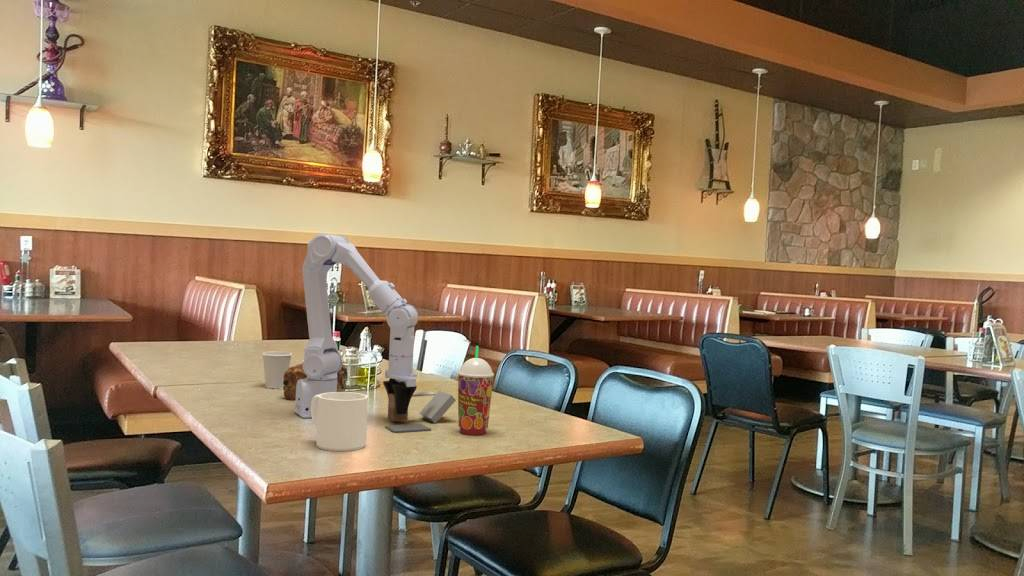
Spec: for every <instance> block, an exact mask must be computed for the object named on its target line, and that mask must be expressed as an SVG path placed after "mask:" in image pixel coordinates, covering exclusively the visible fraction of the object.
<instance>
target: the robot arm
mask: <svg viewBox="0 0 1024 576" xmlns="http://www.w3.org/2000/svg"><path fill="white" fill-rule="evenodd" d="M337 264H340V265H344V266H346V267H348V269H349V270H350V271H351V272H353V274H354V275H355V276H356V277H358V280H360V281H361V282H362V283H363V284H364V285H365V286H366V288H368V297H369V299H370V300H371V301H372V302H373V303H374V304H375V306H376V307H377V309H379V310H380V311H381V312H382V313H383V315H384V316H386V323H387V325H388V327H389V330H390V331H389V349H388V351H389V352H388V369H385V371H384V378H386V379H388V380H384V381H383V382H382V383H383V386H384V388H385V390H386V395H387V398H388V399H389V393H395V398H396V410H397V414H406V413H407V410H408V411H409V407H410V406H409V405H410V402H411V400H412V395H413V393H415V391H416V390H417V387H418V386H417V385H416V384H417V378H418V377H417V376H418V375H417V373H415V372H413V370H414V369H413V367H414V366H413V364H414V348H415V347H414V346H415V326H416V325H417V323H418V322H419V313H418V311H417V309H416V307H415V306H414V305H412V304H409V303H408V301H407V299H406V298H402V296H401V295H400V294H399V293H398V292H397V290H396V289H395V287H396V285H394V283H393V282H389V281H387V280H381V279H380V278H379V277H378V276H377V274H376V273H375V272H374V271H373V269H372V268H371V267H370V266H369V265H368V262H366V260H364V258H363V256H362V255H361V254H360V253H359V251H358V250H357V248H356V247H355V245H354V244H353V243H352V242H350V241H349V239H348V238H347V237H345V236H344V235H342V234H341V235H340V234H336V235H335V234H328V233H323V232H322V233H321V232H320V233H318V234H317V235H315V236H314V237H313V238H312V239H311V240H310V241H309V242H308V243H307V252H306V255H305V258H304V261H303V264H302V268H301V273H302V281H303V290H304V300H305V308H306V309H305V310H306V319H307V326H308V327H307V328H308V329H307V330H308V338H309V339H308V342H307V344H306V345H305V348H304V357H303V360H302V363H303V370H304V372H305V374H306V375H307V378H306V379H299V380H298V381H297V385H296V401H294V403H295V406H294V412H295V414H297V415H298V416H300V417H301V418H304V419H305V418H306V419H307V418H312V416H311V401H312V399H313V397H314V396H315V395H320V394H323V393H329V392H337V372H338V371H339V370H340V369H341V367H342V364H343V357H342V355H341V353H340V351H339V348H338V346H339V345H338V343H337V342H336V341H335V339H334V338H333V335H332V334H333V333H332V323H331V315H330V314H331V312H330V304H329V295H328V286H327V285H328V284H327V276H326V274H327V273H328V272H329V271H330V270H331V268H333V267H334V265H337ZM407 303H408V304H407ZM343 365H344V364H343Z"/></svg>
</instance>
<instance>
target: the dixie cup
mask: <svg viewBox="0 0 1024 576" xmlns="http://www.w3.org/2000/svg"><path fill="white" fill-rule="evenodd" d="M261 355H262V359H263V372H264V384H265V388H266V387H267V388H266V389H269V388H283V386H284V384H283V381H284V379H283V378H284V373H285V371H286V370H287V369H288V368H290V367H291V360H292V359H291V358H292V355H293V353H292V352H289V351H281V350H280V351H273V350H272V351H271V350H270V351H263V352H262V353H261Z"/></svg>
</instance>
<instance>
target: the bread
mask: <svg viewBox="0 0 1024 576" xmlns="http://www.w3.org/2000/svg"><path fill="white" fill-rule="evenodd" d="M347 368H348V367H347V366H346V365H344V364H342V367H341V369H340V370H339V371H338V372H337V392H346V389H347V382H348V376H349V373H348V369H347ZM306 378H307V375H306V374H305V372H304V370H303V362H302V363H299V364H297V365H294V366H289V368H288V369H287V370H286V371H285V373H284V378H283V379H284V381H283V384H284V386H283V389H282V390H283V397H284V399H286V400H290V401H293V400H296V385H297V381H298V380H299V379H306Z"/></svg>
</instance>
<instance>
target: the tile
mask: <svg viewBox="0 0 1024 576" xmlns="http://www.w3.org/2000/svg"><path fill="white" fill-rule="evenodd" d="M454 403H456V399H455V397H453V395H452V394H449V393H448V392H447V393H446V392H444V391H442V390H438V392H436V393H435V396H432V398H431V399H430V400H429V402H428V403H427V404H426V405H425V406H424V407H423V408H422V409H421V411H419V414H420V415H421V417H422V418H424V419H425V420H427V421H429V422H431V423H434V424H437V423H438V421H440V419H441V418H442V417H443V416H444V415H445V413H447V411H448V410H449V409H450V408H451V407H452V405H453V404H454Z"/></svg>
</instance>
